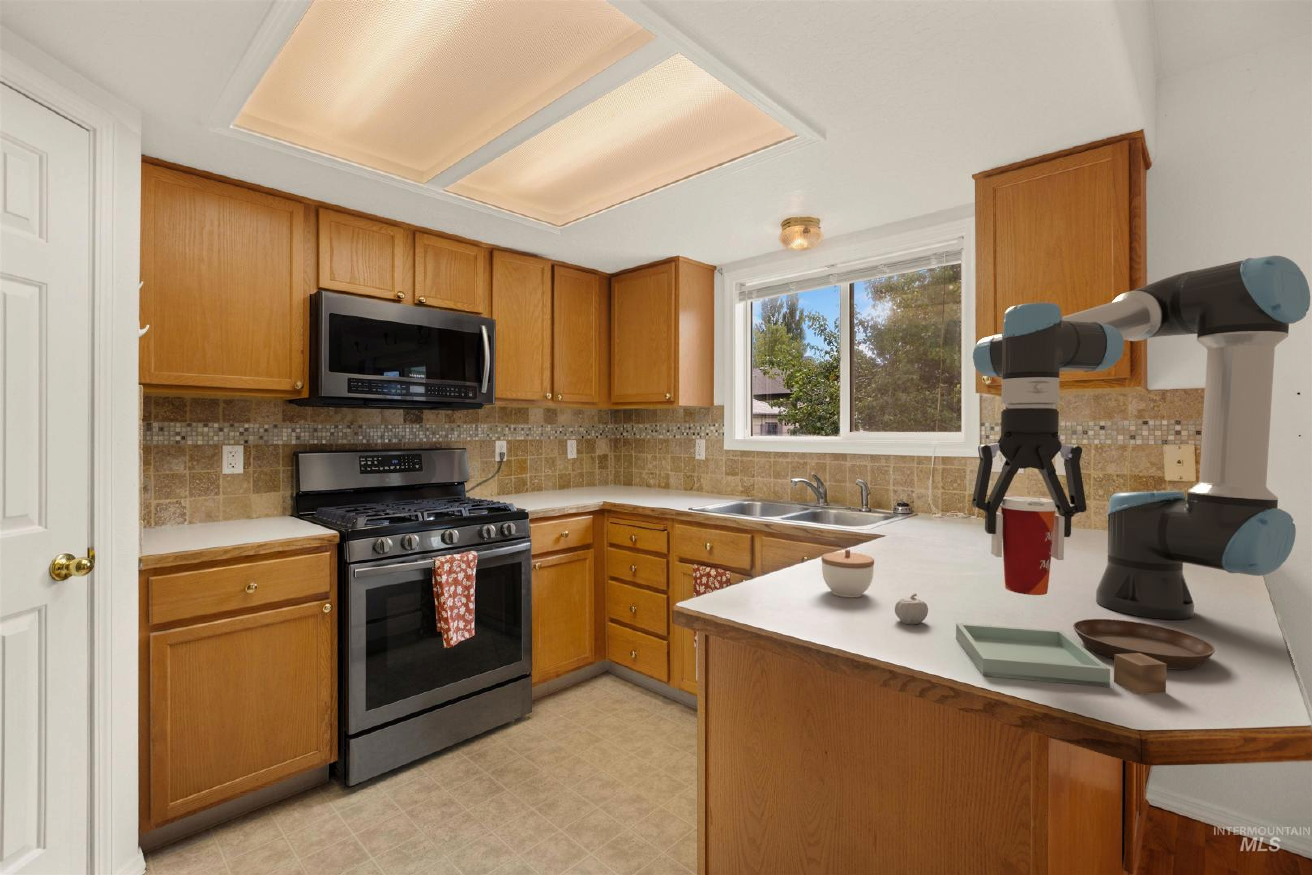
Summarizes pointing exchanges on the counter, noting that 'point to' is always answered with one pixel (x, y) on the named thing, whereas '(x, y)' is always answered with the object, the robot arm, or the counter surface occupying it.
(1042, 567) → the paper cup
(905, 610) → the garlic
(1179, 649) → the plant saucer
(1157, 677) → the walnut block
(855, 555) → the lidded jar
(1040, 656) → the tray
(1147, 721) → the counter surface
